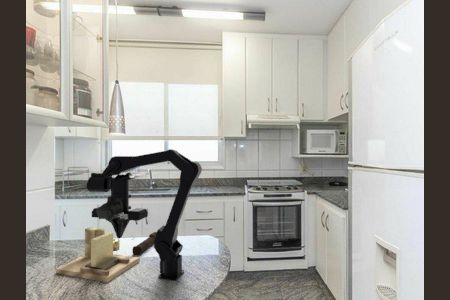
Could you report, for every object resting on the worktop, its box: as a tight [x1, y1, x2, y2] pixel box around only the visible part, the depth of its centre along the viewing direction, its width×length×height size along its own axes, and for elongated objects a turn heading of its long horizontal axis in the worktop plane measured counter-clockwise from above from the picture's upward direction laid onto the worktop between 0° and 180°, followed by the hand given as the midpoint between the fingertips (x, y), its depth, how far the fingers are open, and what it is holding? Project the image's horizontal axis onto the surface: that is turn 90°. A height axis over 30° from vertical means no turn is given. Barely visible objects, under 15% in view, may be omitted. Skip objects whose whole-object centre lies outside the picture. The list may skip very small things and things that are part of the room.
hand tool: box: [132, 231, 157, 256], centre depth 108 cm, size 19×4×5 cm, turn 168°
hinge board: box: [55, 227, 141, 283], centre depth 88 cm, size 22×16×12 cm
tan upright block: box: [85, 231, 121, 270], centre depth 87 cm, size 7×12×10 cm, turn 163°
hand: (119, 237), depth 83 cm, fingers closed
